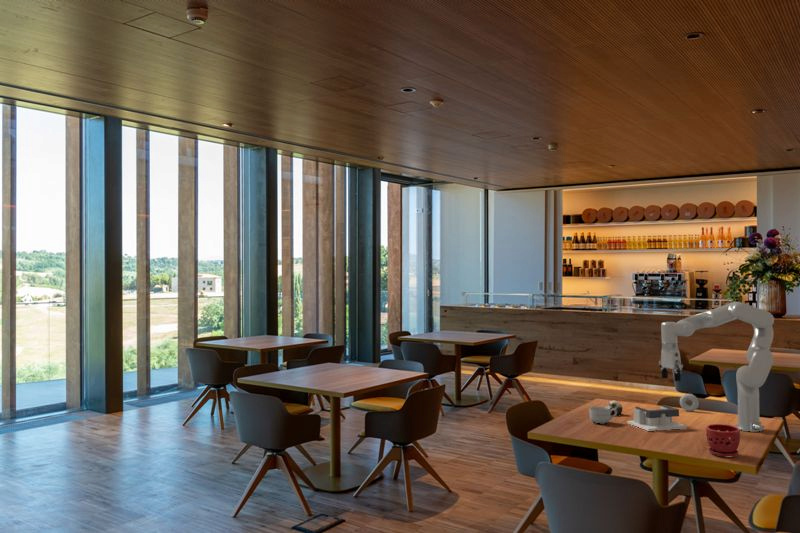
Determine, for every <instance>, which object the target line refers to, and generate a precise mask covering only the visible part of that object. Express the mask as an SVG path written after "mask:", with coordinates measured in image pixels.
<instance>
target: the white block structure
mask: <svg viewBox="0 0 800 533" xmlns="http://www.w3.org/2000/svg"><path fill="white" fill-rule="evenodd" d="M656 409H657V408H654V409H653V408H652V410H656ZM660 409H668V408H665V407H663V406H660ZM672 418H673V417H666V416H665V414H661V418H647V417H646V412H644V411H641V410H638V409H635V408H633V420H626V424H627V423H628V424H627V425H629V424H631V425H630V426H632V425H634V426H637V427H639V428H642V429H645V430H647V431H654V430H667V431H672V430H671V429H680V430H687V427H688V426H687V425H685V424H682V423H679V422H676V421H674V420H673V419H672ZM634 426H633V427H634ZM637 427H636V428H637ZM639 428H638V429H639ZM642 429H641V430H642ZM645 430H644V431H645ZM647 431H646V432H647ZM654 432H655V431H654Z"/></svg>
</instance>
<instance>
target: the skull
mask: <svg viewBox="0 0 800 533" xmlns="http://www.w3.org/2000/svg"><path fill="white" fill-rule="evenodd" d="M605 407H608V408H610V410H611V409H615V410H616V411H617V415H616V416H615V417H617V416H618V415H620V414H621V415H622V412H623V405H622V404H621V403H620V402H618V401H617V400H611V401H609V403H607V404H606V405H605ZM614 414H615V411H612V412H611V414H610V417H611V416H613V415H614ZM618 417H619V416H618Z"/></svg>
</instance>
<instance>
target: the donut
mask: <svg viewBox="0 0 800 533" xmlns="http://www.w3.org/2000/svg"><path fill="white" fill-rule="evenodd" d="M687 401H691V404H687ZM699 402H700V401H699V398H697V396H696V395H694V394H693V393H685V394H683V395H682V396H680V398H679V405H680V407H681V408H682V409H683V410H685V411H687V412H694V411H696V410H697V409H698V407H699V404H700V403H699Z"/></svg>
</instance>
